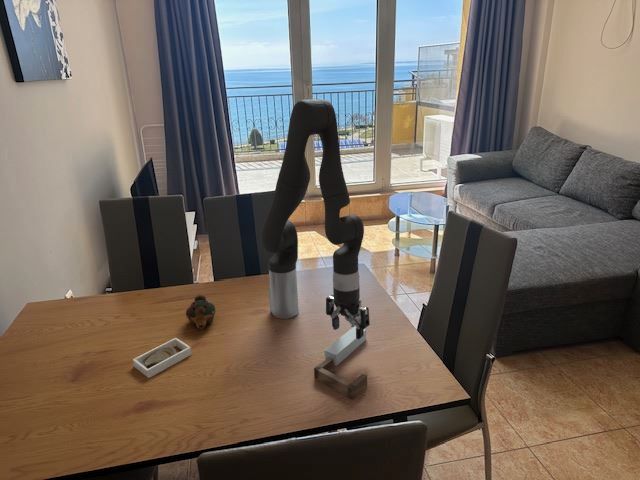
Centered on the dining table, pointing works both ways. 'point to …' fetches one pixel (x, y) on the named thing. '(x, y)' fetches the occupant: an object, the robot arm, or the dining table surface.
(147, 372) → the shell dish
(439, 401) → the dining table surface
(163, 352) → the oyster shell
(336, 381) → the end cap
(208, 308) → the decorative turtle
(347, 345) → the white rectangular bar
